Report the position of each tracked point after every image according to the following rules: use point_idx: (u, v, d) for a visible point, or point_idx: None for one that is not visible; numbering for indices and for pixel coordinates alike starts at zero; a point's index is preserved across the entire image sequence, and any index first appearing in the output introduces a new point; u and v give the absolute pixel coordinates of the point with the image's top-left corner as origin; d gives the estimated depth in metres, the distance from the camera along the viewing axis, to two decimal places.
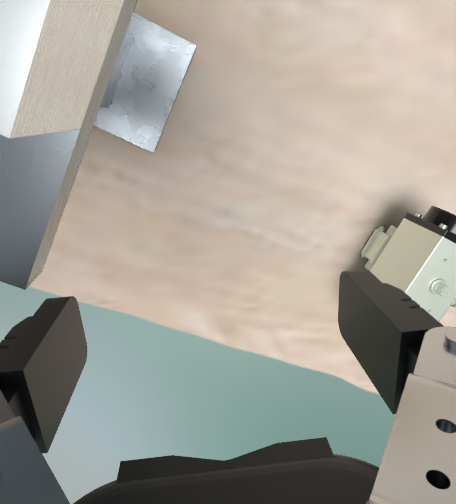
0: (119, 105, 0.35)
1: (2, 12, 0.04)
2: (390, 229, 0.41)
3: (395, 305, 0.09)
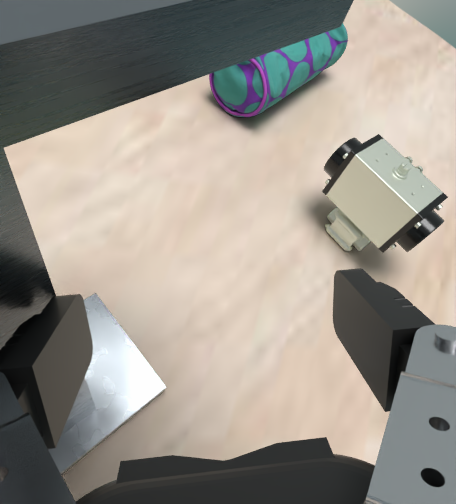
0: (100, 395, 0.30)
1: None
2: (331, 216, 0.44)
3: (387, 304, 0.09)
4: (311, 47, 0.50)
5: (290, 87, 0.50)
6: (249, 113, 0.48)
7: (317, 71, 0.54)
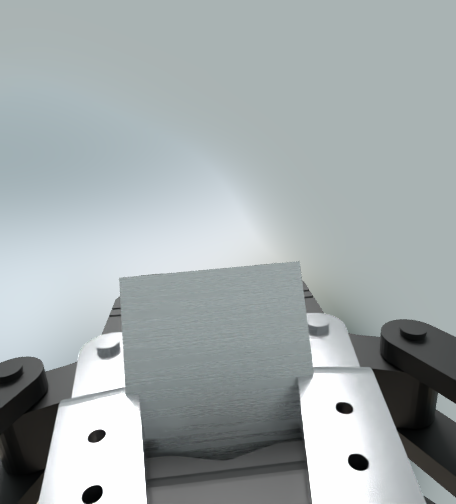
0: None
1: None
2: None
3: None
4: None
5: None
6: None
7: None
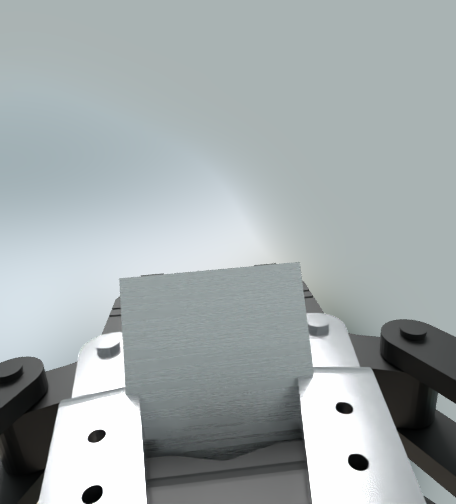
0: None
1: None
2: None
3: None
4: None
5: None
6: None
7: None
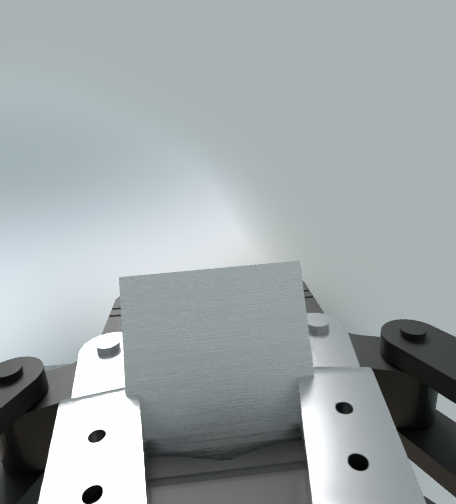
0: None
1: None
2: None
3: None
4: None
5: None
6: None
7: None
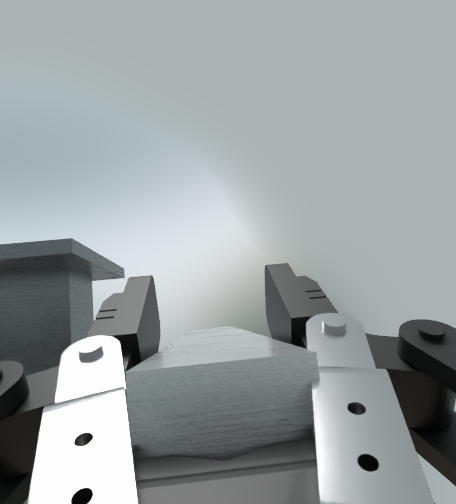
0: None
1: None
2: None
3: (297, 295, 0.10)
4: None
5: None
6: None
7: None
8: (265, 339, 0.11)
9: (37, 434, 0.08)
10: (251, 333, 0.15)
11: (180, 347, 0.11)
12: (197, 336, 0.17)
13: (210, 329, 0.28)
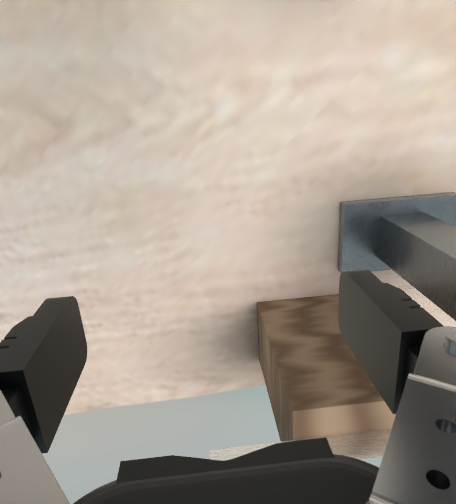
0: None
1: None
2: None
3: (395, 305, 0.09)
4: None
5: None
6: None
7: None
8: None
9: None
10: None
11: None
12: None
13: None
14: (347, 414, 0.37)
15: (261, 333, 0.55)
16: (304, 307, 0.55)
